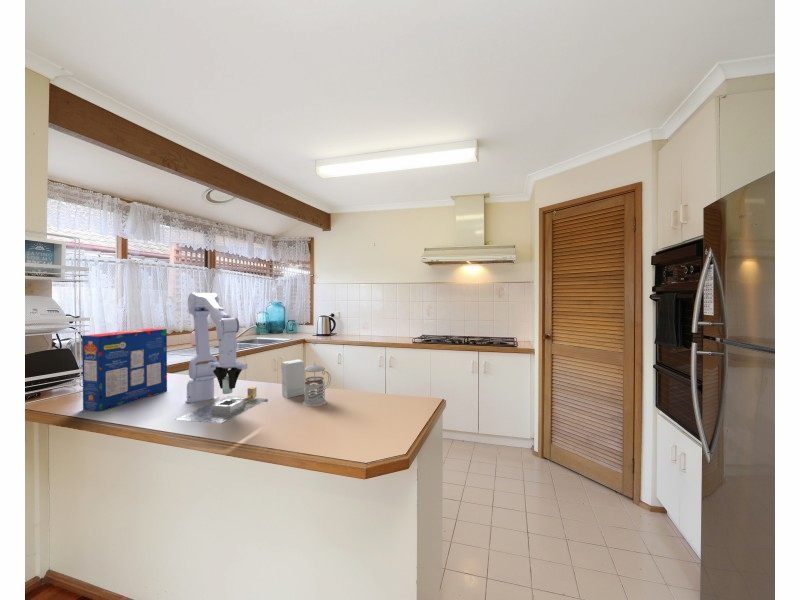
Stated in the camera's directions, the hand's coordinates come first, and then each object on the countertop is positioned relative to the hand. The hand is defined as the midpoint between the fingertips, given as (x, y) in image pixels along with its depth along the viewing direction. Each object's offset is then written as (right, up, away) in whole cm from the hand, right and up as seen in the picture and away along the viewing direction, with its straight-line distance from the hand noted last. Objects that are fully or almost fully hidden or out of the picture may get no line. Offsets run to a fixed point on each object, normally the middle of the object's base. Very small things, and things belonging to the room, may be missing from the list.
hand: (227, 388), depth 125 cm
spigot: (0, -2, 0) cm, 2 cm away
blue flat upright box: (-49, -9, +16) cm, 52 cm away
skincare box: (+17, -9, +24) cm, 30 cm away
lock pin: (+2, -8, +11) cm, 13 cm away
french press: (+29, -10, +14) cm, 34 cm away
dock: (-2, -9, +3) cm, 10 cm away
